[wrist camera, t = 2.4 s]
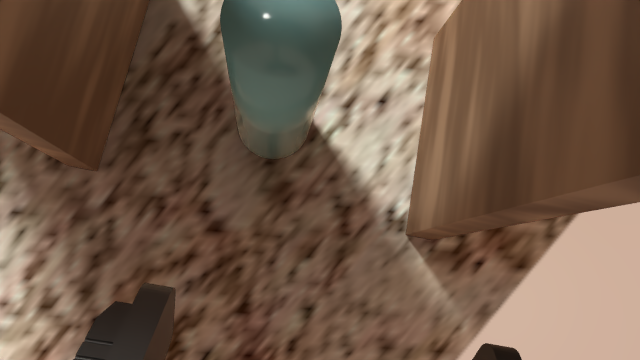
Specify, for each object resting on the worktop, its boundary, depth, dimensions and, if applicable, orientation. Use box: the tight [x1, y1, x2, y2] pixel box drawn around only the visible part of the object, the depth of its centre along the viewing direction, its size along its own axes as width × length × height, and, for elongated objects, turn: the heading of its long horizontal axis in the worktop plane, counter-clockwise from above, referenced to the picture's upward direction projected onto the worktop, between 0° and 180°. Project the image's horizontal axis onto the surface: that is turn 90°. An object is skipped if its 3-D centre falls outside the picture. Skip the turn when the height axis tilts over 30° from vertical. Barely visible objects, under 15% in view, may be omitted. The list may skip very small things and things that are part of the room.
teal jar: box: [220, 0, 342, 159], centre depth 26 cm, size 5×5×14 cm
